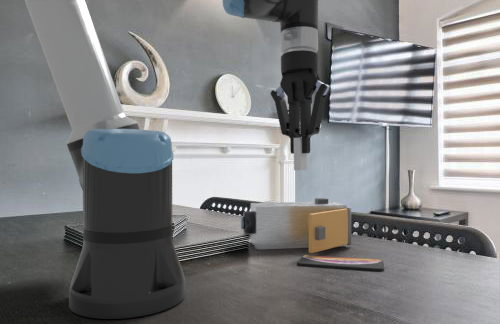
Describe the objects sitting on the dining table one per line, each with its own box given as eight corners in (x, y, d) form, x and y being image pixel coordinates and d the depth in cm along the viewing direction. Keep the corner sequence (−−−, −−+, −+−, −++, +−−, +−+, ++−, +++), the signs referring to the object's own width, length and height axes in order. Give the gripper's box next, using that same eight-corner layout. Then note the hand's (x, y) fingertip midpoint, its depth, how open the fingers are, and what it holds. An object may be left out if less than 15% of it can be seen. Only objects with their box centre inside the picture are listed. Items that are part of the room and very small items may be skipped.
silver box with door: (244, 250, 84) (244, 202, 84) (239, 242, 92) (239, 198, 92) (346, 246, 88) (346, 200, 88) (333, 239, 96) (333, 197, 96)
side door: (316, 255, 77) (316, 213, 77) (308, 253, 78) (308, 213, 78) (354, 245, 86) (354, 208, 86) (347, 243, 88) (347, 207, 88)
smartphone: (302, 254, 79) (383, 259, 75) (302, 258, 79) (383, 263, 75) (296, 262, 72) (384, 268, 68) (296, 267, 72) (384, 273, 67)
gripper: (262, 55, 82) (263, 170, 82) (320, 43, 74) (321, 170, 75) (281, 62, 88) (282, 169, 88) (337, 52, 80) (338, 169, 81)
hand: (300, 169), depth 81 cm, fingers closed
